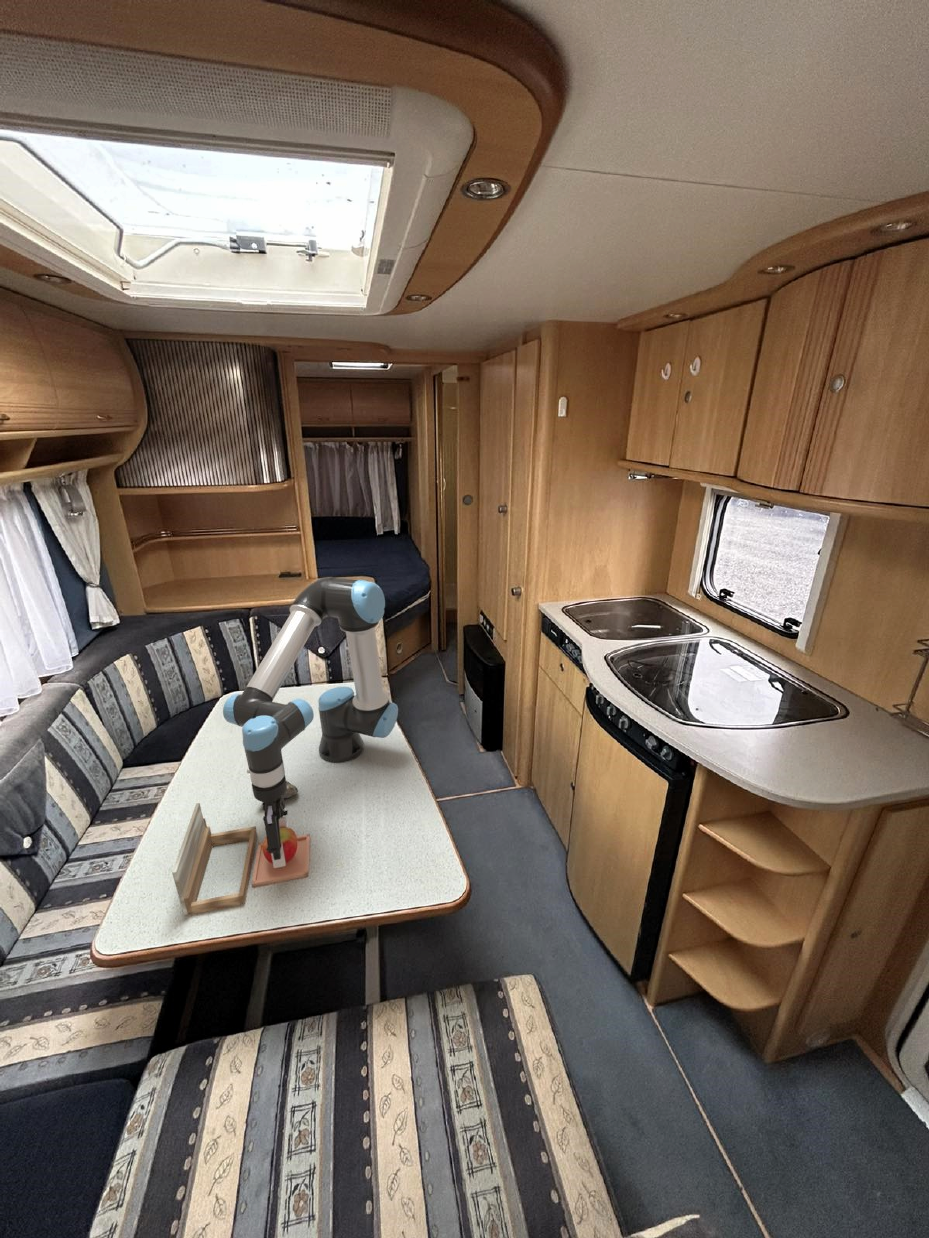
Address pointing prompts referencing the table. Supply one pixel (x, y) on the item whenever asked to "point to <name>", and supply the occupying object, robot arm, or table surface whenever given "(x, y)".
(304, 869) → the dish
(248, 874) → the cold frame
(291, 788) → the rock
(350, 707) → the robot arm
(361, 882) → the table surface
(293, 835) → the apple
